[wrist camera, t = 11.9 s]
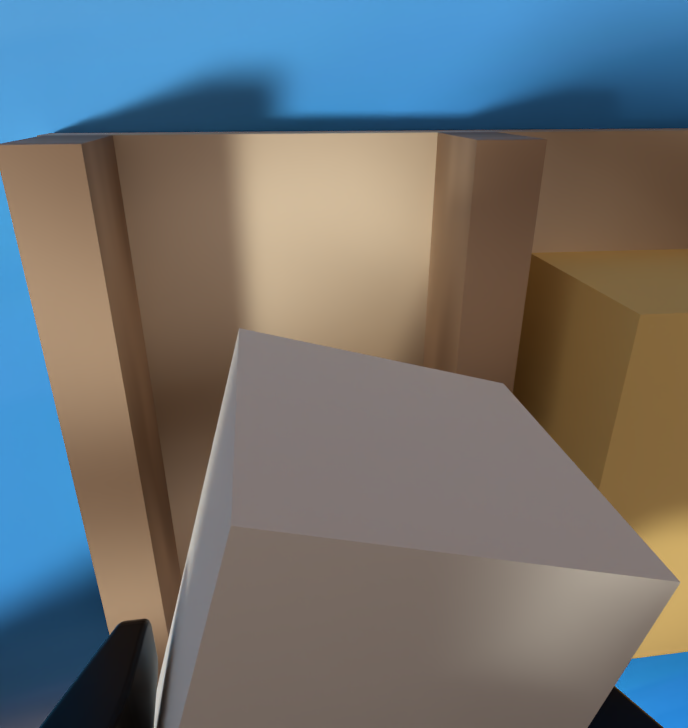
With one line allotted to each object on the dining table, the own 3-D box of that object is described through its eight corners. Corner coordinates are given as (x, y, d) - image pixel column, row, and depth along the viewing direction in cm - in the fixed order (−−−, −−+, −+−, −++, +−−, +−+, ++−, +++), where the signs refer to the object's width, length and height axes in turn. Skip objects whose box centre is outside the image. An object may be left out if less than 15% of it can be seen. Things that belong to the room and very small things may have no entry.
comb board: (663, 564, 19) (732, 643, 16) (147, 624, 17) (126, 726, 14) (794, 127, 13) (933, 135, 11) (51, 132, 11) (-13, 145, 8)
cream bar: (354, 734, 12) (401, 1018, 8) (147, 726, 11) (96, 1044, 7) (503, 383, 9) (681, 582, 5) (238, 328, 8) (230, 524, 4)
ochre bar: (622, 527, 17) (725, 646, 13) (487, 540, 16) (556, 668, 12) (696, 248, 13) (862, 305, 10) (530, 252, 13) (640, 314, 9)
